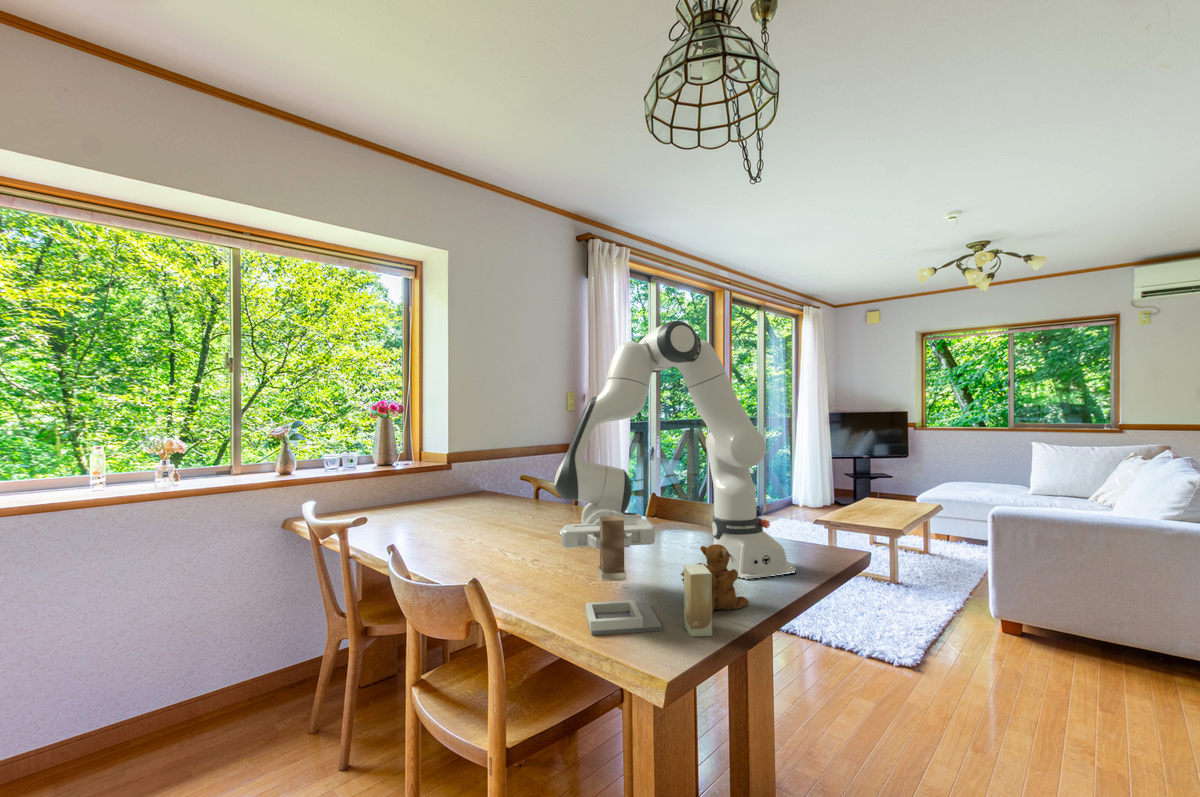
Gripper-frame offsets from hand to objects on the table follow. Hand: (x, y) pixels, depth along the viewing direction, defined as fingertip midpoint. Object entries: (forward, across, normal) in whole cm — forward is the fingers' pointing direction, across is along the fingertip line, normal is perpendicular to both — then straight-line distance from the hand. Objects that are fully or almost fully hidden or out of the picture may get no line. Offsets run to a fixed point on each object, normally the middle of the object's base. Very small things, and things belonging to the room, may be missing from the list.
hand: (612, 543), depth 110 cm
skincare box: (+5, +16, +17) cm, 24 cm away
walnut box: (-1, 0, +7) cm, 7 cm away
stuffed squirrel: (-7, +23, +17) cm, 30 cm away
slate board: (-3, +2, +16) cm, 17 cm away
